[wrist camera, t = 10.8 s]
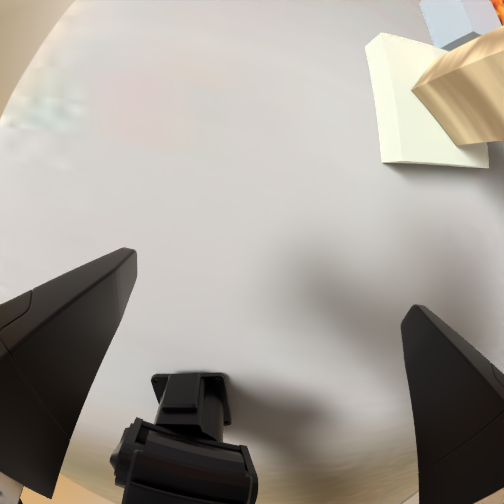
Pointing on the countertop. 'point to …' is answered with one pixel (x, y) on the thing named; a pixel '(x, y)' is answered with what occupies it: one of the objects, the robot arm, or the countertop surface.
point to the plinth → (412, 108)
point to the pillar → (468, 90)
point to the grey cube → (458, 21)
